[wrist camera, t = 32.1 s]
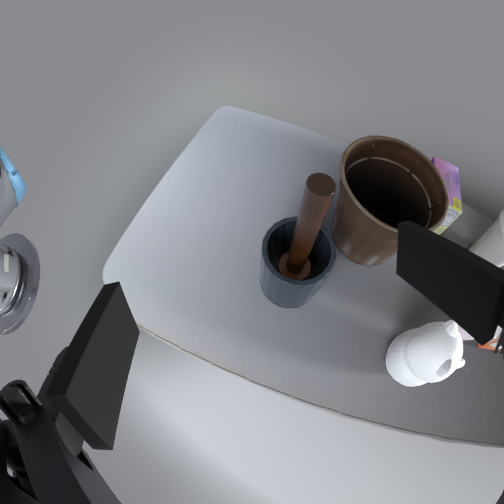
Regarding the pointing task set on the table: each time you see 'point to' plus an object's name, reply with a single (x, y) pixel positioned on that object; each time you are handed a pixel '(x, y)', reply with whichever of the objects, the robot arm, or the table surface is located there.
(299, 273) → the brown rod
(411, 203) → the plant pot
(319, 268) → the blue-grey cylindrical holder
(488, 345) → the cracker box
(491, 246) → the coffee cup
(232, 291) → the table surface
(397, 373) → the cat figurine
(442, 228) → the box
